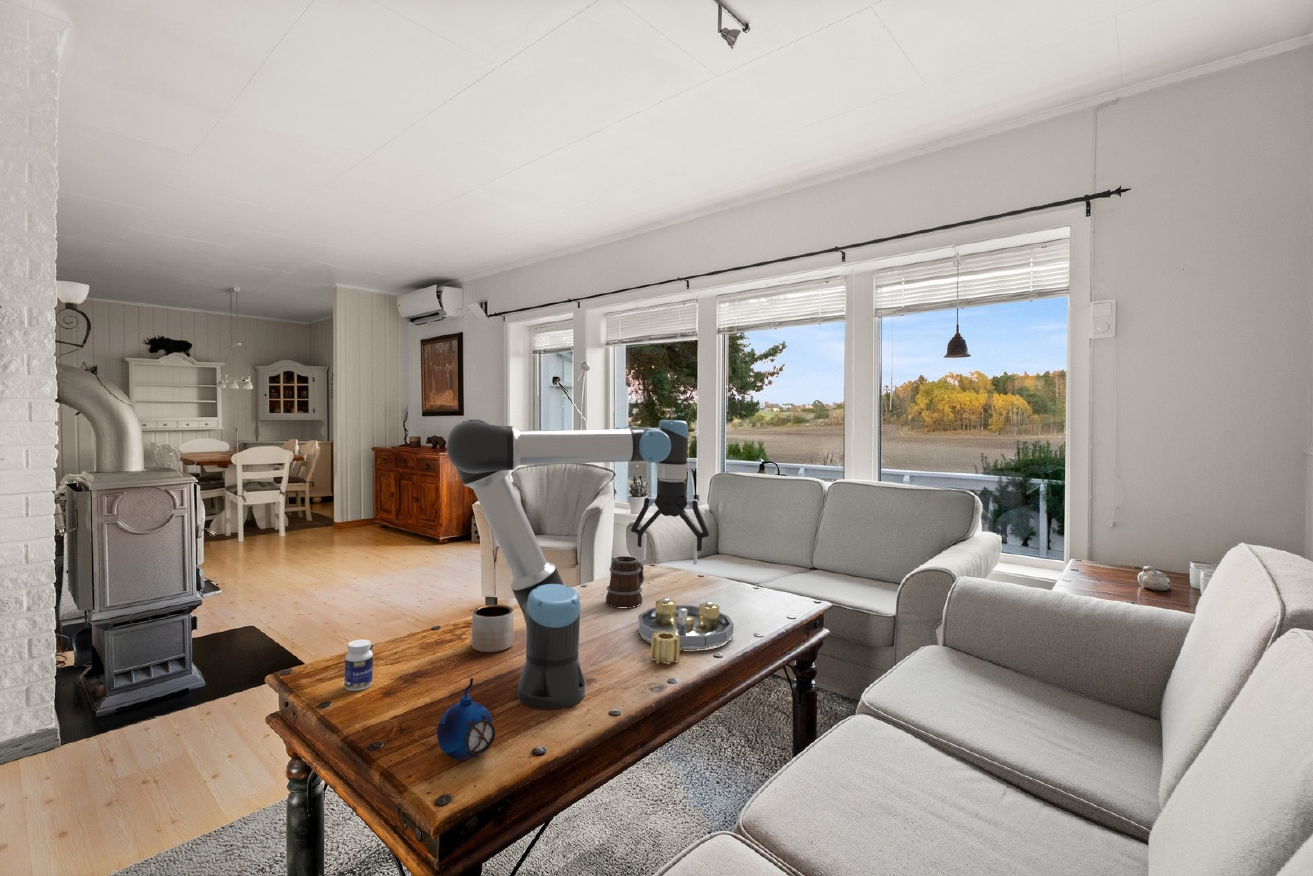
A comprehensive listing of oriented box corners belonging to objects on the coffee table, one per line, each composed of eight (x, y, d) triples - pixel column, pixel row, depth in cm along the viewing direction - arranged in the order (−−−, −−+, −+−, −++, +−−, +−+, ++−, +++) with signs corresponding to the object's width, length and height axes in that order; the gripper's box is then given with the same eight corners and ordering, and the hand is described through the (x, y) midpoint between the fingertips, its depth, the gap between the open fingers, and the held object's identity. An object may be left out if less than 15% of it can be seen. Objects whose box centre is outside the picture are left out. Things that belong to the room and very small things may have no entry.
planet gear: (661, 666, 156) (662, 643, 156) (645, 656, 162) (646, 634, 162) (684, 660, 161) (685, 638, 160) (668, 651, 167) (668, 629, 166)
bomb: (457, 781, 106) (459, 695, 105) (426, 755, 113) (428, 675, 113) (506, 758, 113) (508, 678, 113) (473, 736, 121) (475, 660, 120)
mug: (627, 611, 199) (629, 565, 198) (598, 603, 206) (600, 558, 205) (655, 600, 212) (657, 556, 211) (628, 593, 219) (629, 551, 218)
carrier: (676, 658, 162) (677, 623, 161) (621, 627, 184) (622, 595, 183) (751, 639, 177) (752, 607, 177) (692, 612, 199) (693, 583, 199)
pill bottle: (353, 694, 136) (354, 649, 135) (339, 687, 139) (339, 643, 138) (377, 685, 141) (378, 642, 140) (362, 678, 144) (363, 636, 143)
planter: (521, 646, 166) (522, 611, 166) (485, 657, 158) (486, 620, 158) (498, 635, 174) (499, 601, 173) (463, 645, 166) (464, 610, 165)
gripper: (721, 480, 161) (718, 561, 162) (627, 476, 165) (625, 554, 166) (719, 484, 154) (716, 568, 155) (621, 479, 158) (618, 561, 159)
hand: (669, 561), depth 160 cm, fingers open, 13 cm apart
